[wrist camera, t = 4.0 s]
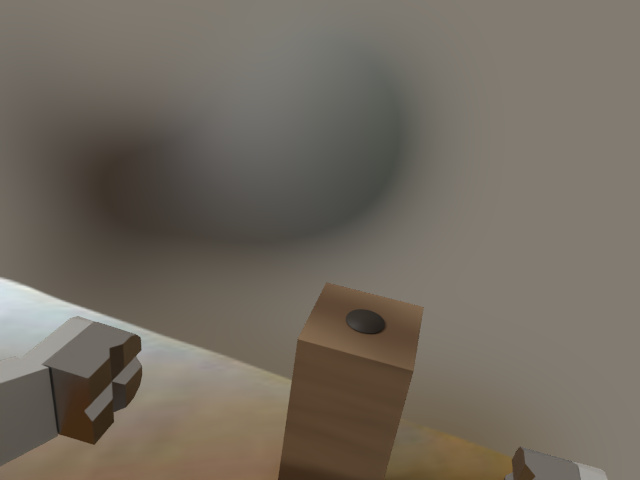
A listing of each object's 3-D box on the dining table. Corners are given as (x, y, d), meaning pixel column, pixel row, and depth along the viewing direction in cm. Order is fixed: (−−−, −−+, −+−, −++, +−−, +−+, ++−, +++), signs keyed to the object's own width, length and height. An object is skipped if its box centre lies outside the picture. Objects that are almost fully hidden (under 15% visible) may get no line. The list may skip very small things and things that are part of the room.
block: (357, 573, 28) (413, 369, 22) (269, 542, 29) (297, 337, 22) (373, 494, 32) (423, 305, 26) (296, 469, 33) (326, 281, 27)
